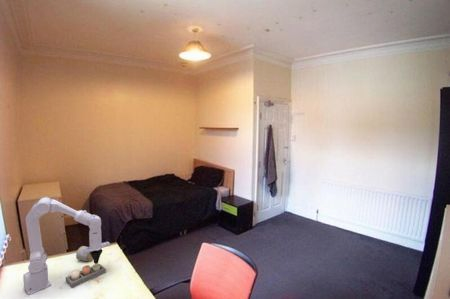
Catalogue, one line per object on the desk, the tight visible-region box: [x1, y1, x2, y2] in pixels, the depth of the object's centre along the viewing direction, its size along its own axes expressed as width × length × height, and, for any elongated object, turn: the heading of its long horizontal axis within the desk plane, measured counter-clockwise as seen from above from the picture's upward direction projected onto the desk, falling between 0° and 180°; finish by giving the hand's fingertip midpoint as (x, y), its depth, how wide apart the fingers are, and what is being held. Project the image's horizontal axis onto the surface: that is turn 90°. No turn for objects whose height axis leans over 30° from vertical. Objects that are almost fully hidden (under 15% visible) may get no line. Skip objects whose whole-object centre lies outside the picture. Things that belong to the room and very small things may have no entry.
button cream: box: [70, 269, 80, 281], centre depth 126 cm, size 4×4×4 cm
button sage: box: [92, 263, 101, 272], centre depth 134 cm, size 4×4×4 cm
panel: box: [65, 264, 107, 289], centre depth 130 cm, size 17×8×2 cm, turn 142°
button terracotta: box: [81, 264, 91, 276], centre depth 130 cm, size 4×4×4 cm
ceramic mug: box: [75, 245, 93, 262], centre depth 149 cm, size 11×8×8 cm
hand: (96, 262), depth 134 cm, fingers closed
